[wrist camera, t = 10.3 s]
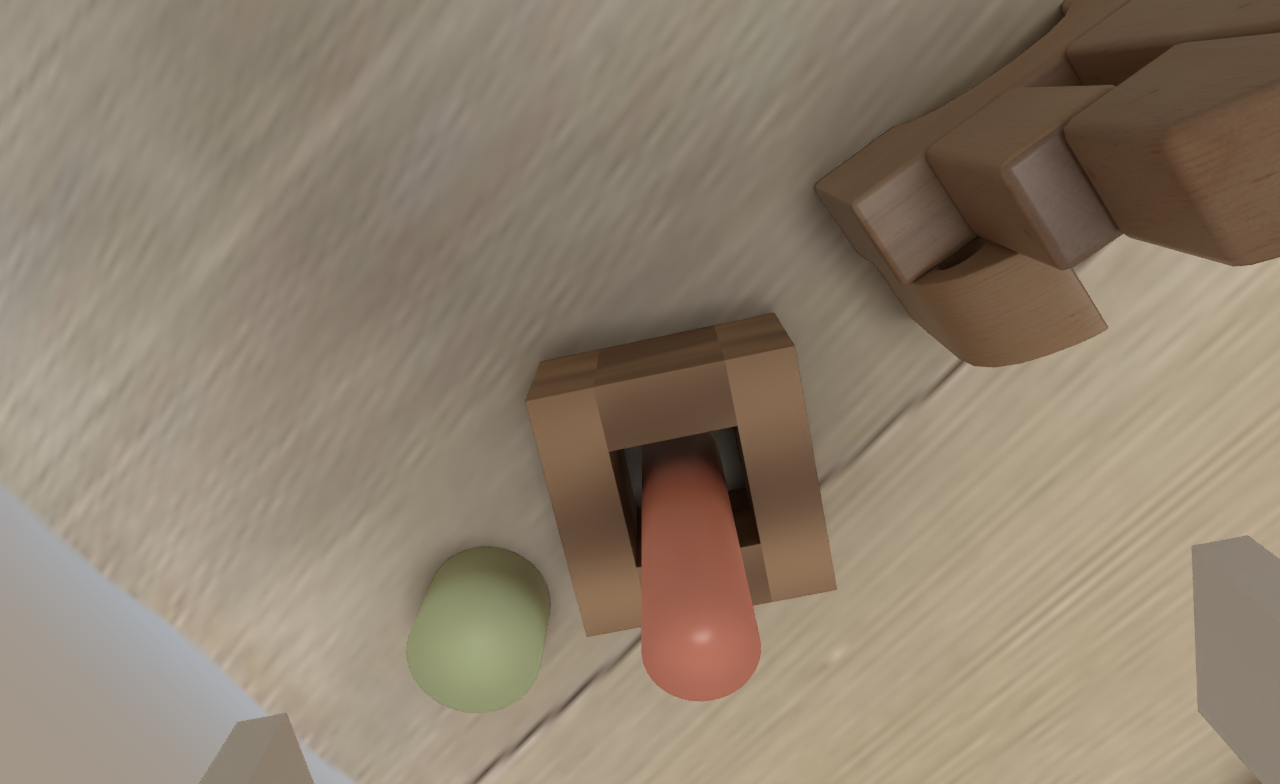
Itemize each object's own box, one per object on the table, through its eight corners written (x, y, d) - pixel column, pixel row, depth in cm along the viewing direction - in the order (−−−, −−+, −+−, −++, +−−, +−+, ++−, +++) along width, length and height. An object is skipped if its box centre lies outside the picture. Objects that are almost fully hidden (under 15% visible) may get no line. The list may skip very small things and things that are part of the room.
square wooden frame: (540, 361, 36) (525, 401, 32) (774, 313, 36) (794, 345, 31) (593, 571, 39) (586, 637, 34) (812, 528, 38) (836, 589, 34)
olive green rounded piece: (414, 558, 39) (390, 608, 35) (534, 536, 39) (523, 583, 35) (446, 664, 40) (426, 723, 37) (562, 643, 40) (554, 700, 36)
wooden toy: (909, 330, 36) (1434, 783, 12) (810, 185, 35) (1190, 380, 11) (1287, 71, 33) (2912, 3, 10) (1198, -99, 32) (2873, -694, 8)
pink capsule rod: (634, 425, 37) (630, 607, 24) (711, 410, 37) (750, 586, 24) (649, 495, 38) (654, 709, 25) (724, 481, 38) (769, 690, 24)
